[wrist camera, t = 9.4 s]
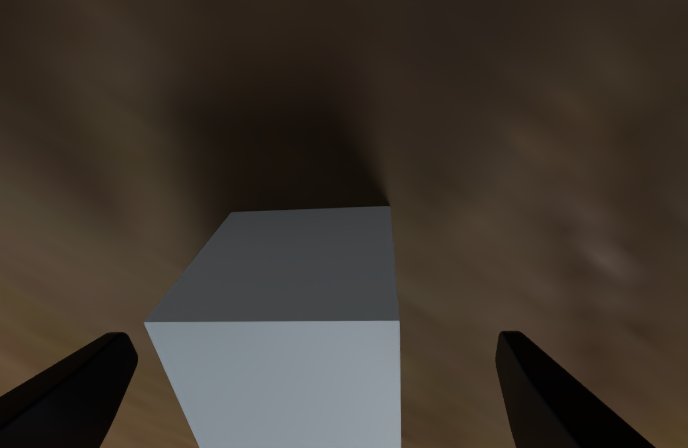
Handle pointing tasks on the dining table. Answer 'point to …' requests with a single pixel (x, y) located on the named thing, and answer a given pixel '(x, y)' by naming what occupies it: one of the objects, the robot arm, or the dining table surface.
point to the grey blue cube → (287, 332)
